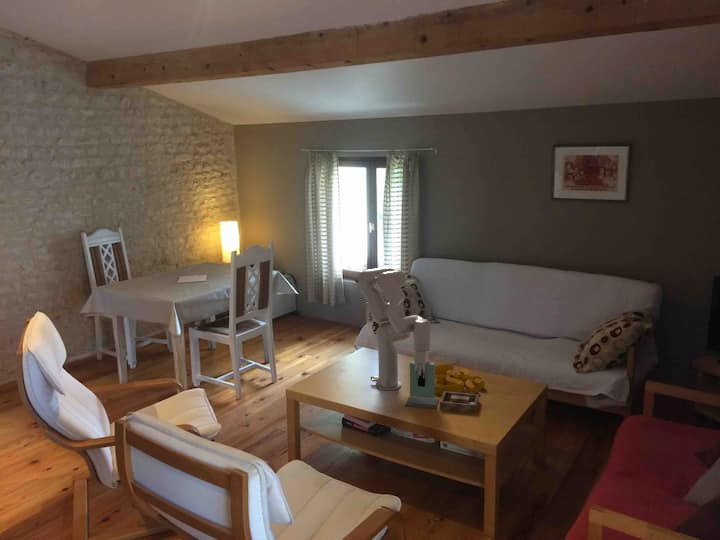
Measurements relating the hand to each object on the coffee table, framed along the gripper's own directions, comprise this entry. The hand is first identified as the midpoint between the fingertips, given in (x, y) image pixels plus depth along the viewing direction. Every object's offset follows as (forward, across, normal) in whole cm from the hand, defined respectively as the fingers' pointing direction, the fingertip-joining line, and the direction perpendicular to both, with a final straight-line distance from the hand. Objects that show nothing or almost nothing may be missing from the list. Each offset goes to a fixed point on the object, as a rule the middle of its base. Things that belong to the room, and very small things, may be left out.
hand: (422, 384), depth 280 cm
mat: (+9, 0, 0) cm, 9 cm away
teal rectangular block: (+6, 0, 0) cm, 6 cm away
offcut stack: (+10, 0, +18) cm, 21 cm away
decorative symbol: (+10, -27, +11) cm, 31 cm away
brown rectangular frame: (+9, -2, +17) cm, 19 cm away
